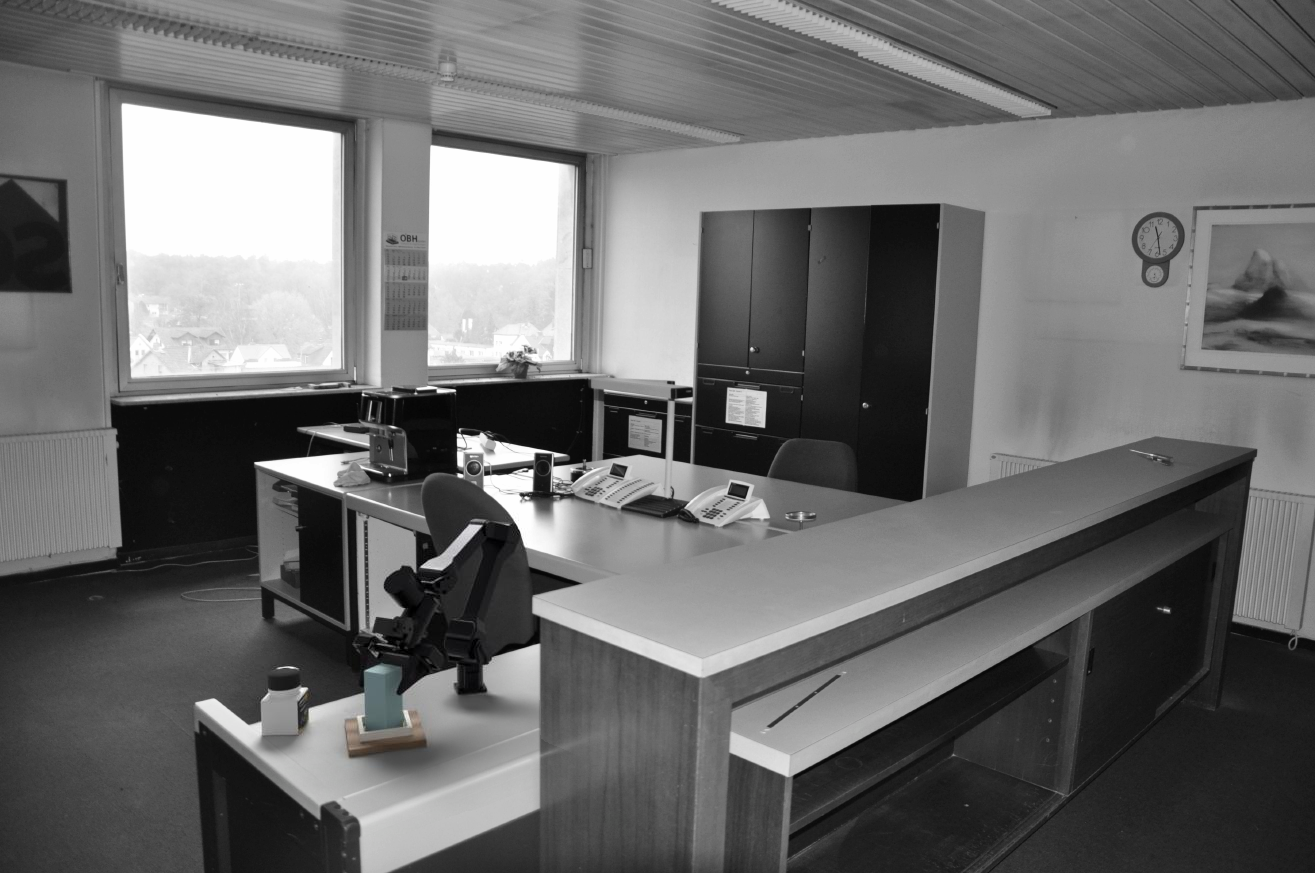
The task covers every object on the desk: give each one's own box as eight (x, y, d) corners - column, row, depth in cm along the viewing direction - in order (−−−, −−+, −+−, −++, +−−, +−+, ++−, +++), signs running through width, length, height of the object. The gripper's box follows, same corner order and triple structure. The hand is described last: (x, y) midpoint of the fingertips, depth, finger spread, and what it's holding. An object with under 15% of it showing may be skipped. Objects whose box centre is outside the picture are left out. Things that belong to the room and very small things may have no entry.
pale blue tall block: (382, 722, 189) (381, 663, 188) (403, 726, 187) (401, 666, 186) (365, 731, 184) (363, 670, 183) (385, 735, 182) (384, 674, 181)
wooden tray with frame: (344, 724, 190) (344, 711, 190) (416, 715, 195) (416, 702, 195) (349, 756, 176) (348, 742, 175) (426, 745, 180) (426, 731, 180)
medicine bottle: (299, 735, 185) (297, 675, 184) (261, 736, 185) (259, 676, 184) (309, 721, 192) (307, 663, 191) (273, 722, 192) (271, 663, 191)
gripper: (357, 594, 191) (319, 664, 182) (434, 604, 183) (397, 678, 174) (385, 622, 198) (349, 691, 189) (459, 633, 191) (425, 705, 182)
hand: (378, 690), depth 183 cm, fingers open, 9 cm apart
